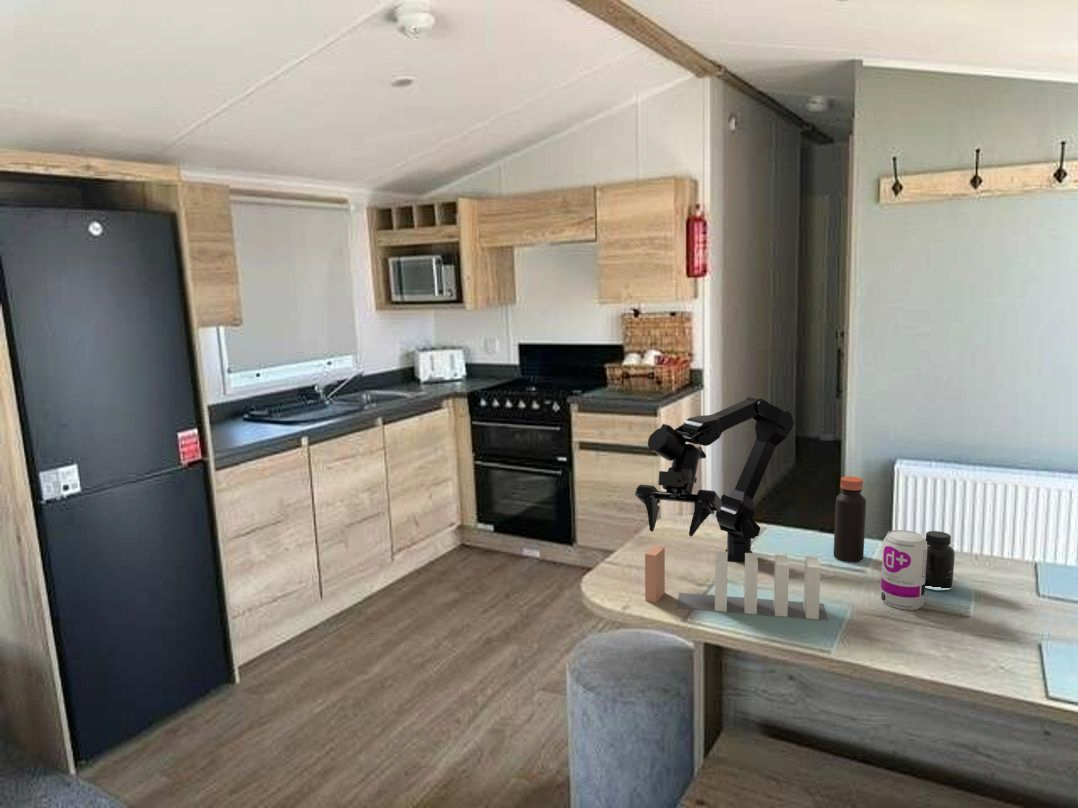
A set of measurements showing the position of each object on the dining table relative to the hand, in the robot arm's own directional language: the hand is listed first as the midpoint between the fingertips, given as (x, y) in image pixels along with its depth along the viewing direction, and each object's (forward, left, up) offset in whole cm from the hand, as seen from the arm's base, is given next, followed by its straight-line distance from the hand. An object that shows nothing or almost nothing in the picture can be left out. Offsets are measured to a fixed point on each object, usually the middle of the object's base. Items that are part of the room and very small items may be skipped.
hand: (670, 533), depth 165 cm
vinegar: (-27, +41, -13) cm, 51 cm away
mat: (+6, +17, -13) cm, 22 cm away
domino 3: (+7, +23, -13) cm, 27 cm away
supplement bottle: (-13, +57, -14) cm, 60 cm away
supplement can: (-2, +48, -13) cm, 50 cm away
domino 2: (+7, +17, -13) cm, 22 cm away
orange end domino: (+5, -3, -13) cm, 14 cm away
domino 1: (+7, +11, -13) cm, 18 cm away
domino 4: (+7, +29, -13) cm, 33 cm away
